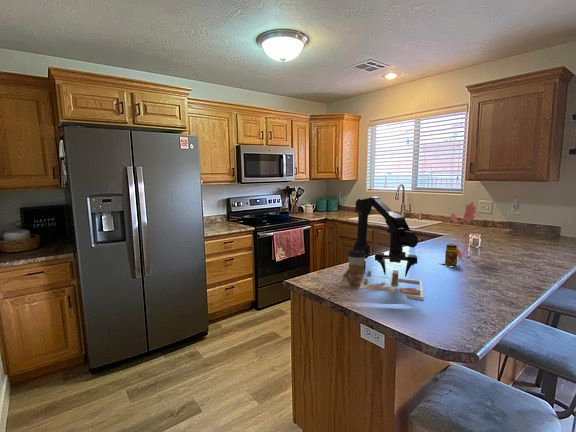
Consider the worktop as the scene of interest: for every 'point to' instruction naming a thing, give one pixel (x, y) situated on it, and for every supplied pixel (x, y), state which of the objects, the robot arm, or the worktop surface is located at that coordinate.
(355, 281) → the walnut cube
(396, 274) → the tan rectangular frame
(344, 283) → the tan long flat piece
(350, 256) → the coffee cup
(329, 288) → the worktop surface
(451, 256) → the condiment
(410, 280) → the lane tray
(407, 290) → the reddish brown block
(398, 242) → the robot arm
